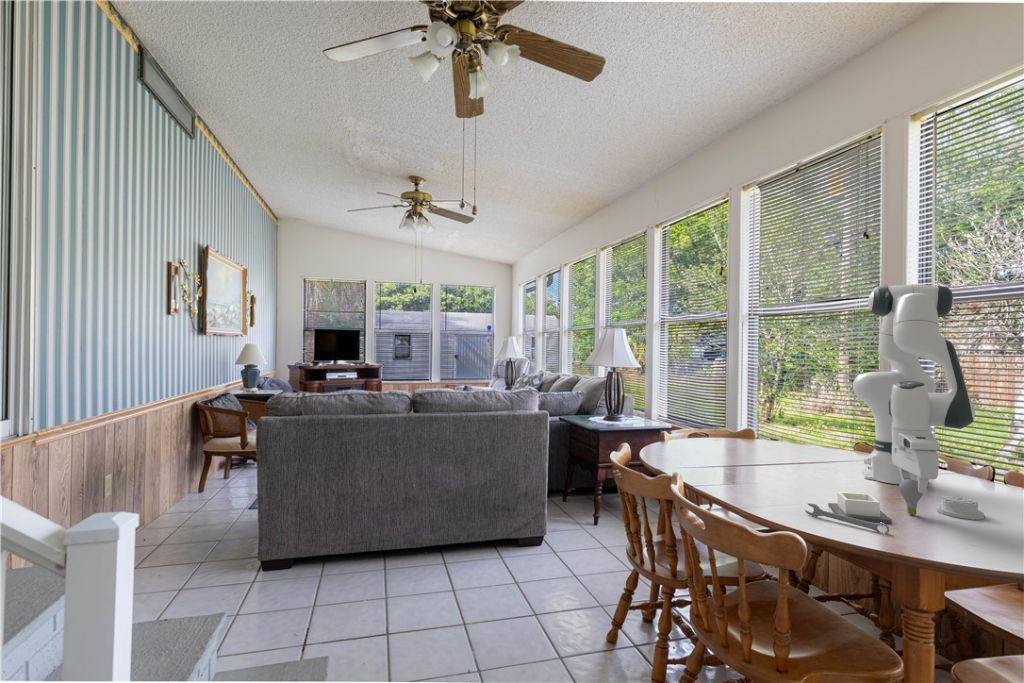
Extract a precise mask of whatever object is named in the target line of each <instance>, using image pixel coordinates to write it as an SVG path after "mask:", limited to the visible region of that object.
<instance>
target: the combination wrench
mask: <svg viewBox="0 0 1024 683" xmlns="http://www.w3.org/2000/svg"><path fill="white" fill-rule="evenodd" d="M807 505H808V506H809V507H811V508H813V511H812V512H811V511H809V510H807V509H805V510H804V512H805V514H807V515H808V514H809V515H812V516H811V517H813V516H816V517H815V518H817V517H826V518H830V519H833V520H836V521H840V522H843V523H846V524H847V523H848V524H851V525H855V526H859V527H863V528H866V529H869V530H872V531H874V532H877V533H878V532H881V530H879V528H878V527H879V525H881V526H884V527H885V529H886V531H885V532H883V531H882V533H885V534H884V535H887V534H888V533H889V532H890V527H889V526H888V525H887V523H878V522H867V521H863V520H859V519H855V518H851V517H847V516H843V515H839V514H835V513H834V512H830V511H826V510H823V509H821V507H820V506H818V505H817V504H816V503H809V502H808V503H807ZM809 515H808V516H809ZM882 533H881V534H882Z"/></svg>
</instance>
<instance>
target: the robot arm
mask: <svg viewBox="0 0 1024 683" xmlns="http://www.w3.org/2000/svg"><path fill="white" fill-rule="evenodd" d="M954 300H955V299H954V295H953V292H952V290H951V289H950V288H949V287H947V286H944V285H937V284H936V285H929V284H928V285H927V284H915V283H914V284H912V283H911V284H899V285H896V284H895V285H886V284H885V285H879V286H876V287H874V288H873V289H872V290H871V292H870V294H869V296H868V299H867V306H868V308H869V311H870V312H871V313H872V314H873V315H875V316H877V317H881V318H882V317H883V318H882V322H881V326H880V332H879V340H878V351H877V352H878V354H879V356H880V357H881V358H882V359H883V360H885V361H887V362H889V363H890V367H891V368H890V371H869V372H865V373H860V374H857V375H856V377H855V378H854V380H853V382H852V389H853V393H854V395H855V396H856V398H858V399H859V400H861V401H862V402H863V403H865V405H867V407H868V408H869V410H870V411H871V414H872V417H873V421H874V430H875V431H874V432H875V438H874V439H873V440H874V441H873V450H872V451H871V453H870V454H869V455H868V457H867V458H866V457H865V458H864V459H863V463H864V465H867V467H861V473H862V475H863V477H864V479H866V480H867V479H868V480H873V481H878V482H881V483H886V484H887V483H888V484H894V485H900V483H901V482H902V481H903V480H907V479H911V480H915V481H917V482H918V485H916V487H917V491H918V492H920V493H923V494H926V493H928V484H929V483H930V480H936V479H937V478H938V476H939V453H938V452H937V451H940V450H941V445H940V443H939V441H938V440H937V439H935V437H934V434H932V432H933V431H932V430H933V429H932V426H934V427H944V428H950V429H956V430H957V429H958V430H962V429H964V428H966V427H969V425H972V424H973V423H974V421H975V418H976V408H975V405H974V403H973V401H972V399H971V397H970V395H969V393H968V389H967V384H966V382H965V378H964V374H963V368H962V366H961V362H960V359H959V358H958V354H957V350H956V348H955V346H954V344H953V342H952V341H950V340H947V339H945V338H944V337H943V336H942V334H941V331H940V328H939V323H940V321H939V318H942V317H945V316H946V315H948V314H950V312H951V310H952V308H953V306H954V302H955V301H954ZM920 358H921V359H922V358H923V359H925V360H927V361H928V360H929V361H931V362H934V363H936V364H938V365H940V367H941V368H942V369H943V374H944V376H945V377H944V378H945V382H946V385H947V390H948V391H946V392H935V391H936V383H935V380H934V379H933V377H932V376H931V375H929V374H928V373H927V372H926V371H925V370H924V369H923V368H922V365H921V362H920ZM928 482H929V483H928Z"/></svg>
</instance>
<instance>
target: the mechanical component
mask: <svg viewBox="0 0 1024 683" xmlns="http://www.w3.org/2000/svg"><path fill="white" fill-rule="evenodd" d="M941 498H942V499H941V500H942V503H941V504H938V505H936V511H937V512H939V513H940V514H942V515H946V516H949V517H952V518H953V517H954V518H958V519H965V520H975V519H976V521H977V520H983V518H985V512H984V511H982V510H980V509H979V501H975V500H974V499H971V498H967V497H963V496H959V495H958V496H956V495H955V496H954V495H945V496H941Z"/></svg>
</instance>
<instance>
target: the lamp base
mask: <svg viewBox="0 0 1024 683" xmlns="http://www.w3.org/2000/svg"><path fill="white" fill-rule="evenodd" d="M836 493H837V494H836V495H837V496H836V497H837V503H834V502H827V503H828V507H829V509H830V508H831V509H832V510H833V511H832V510H831V509H830V510H831V511H832V513H835V514H839V515H843V516H847V517H851V518H855V519H859V520H863V521H872V522H871V523H878V522H882V523H885V524H889V523H892V522H893V521H892V519H891V518H890V517H889V516H888V515H886V514H885V513H884V512H883V511H882V510H881V502H880V501H879V500H877V499H876V498H875V497H874V496H872V494H869V493H857V492H846V491H845V492H843V491H837V492H836ZM892 524H893V523H892Z"/></svg>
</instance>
